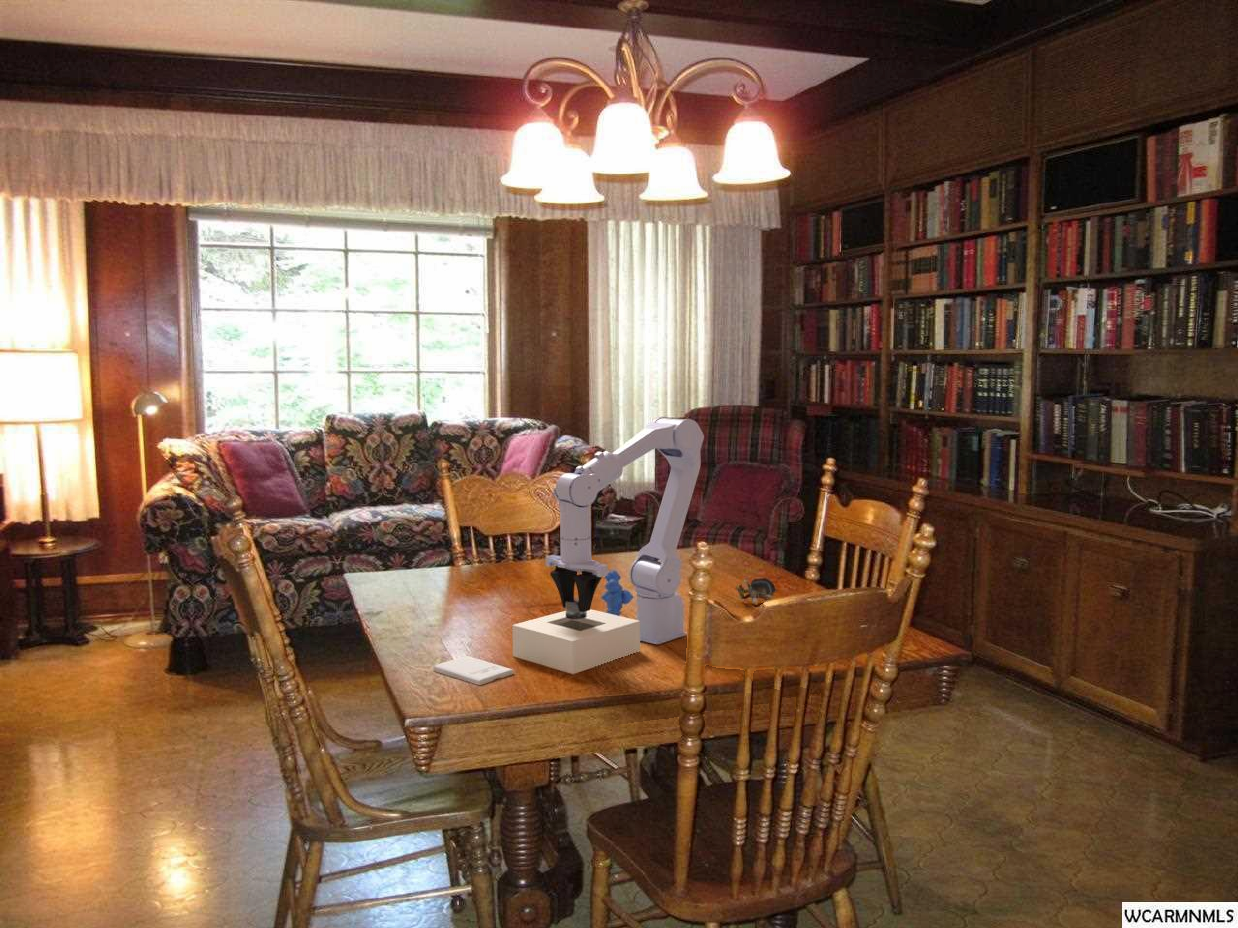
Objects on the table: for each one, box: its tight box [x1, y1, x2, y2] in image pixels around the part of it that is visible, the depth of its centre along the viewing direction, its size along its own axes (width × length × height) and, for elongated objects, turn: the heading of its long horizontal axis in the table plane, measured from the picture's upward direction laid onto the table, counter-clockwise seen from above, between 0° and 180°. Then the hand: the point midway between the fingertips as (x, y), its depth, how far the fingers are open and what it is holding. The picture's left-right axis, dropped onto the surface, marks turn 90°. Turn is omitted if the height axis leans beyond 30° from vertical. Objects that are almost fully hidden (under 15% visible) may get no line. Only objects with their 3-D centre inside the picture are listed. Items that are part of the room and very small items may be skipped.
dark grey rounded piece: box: [564, 597, 587, 619], centre depth 187 cm, size 4×4×3 cm
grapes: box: [601, 569, 634, 616], centre depth 207 cm, size 12×7×12 cm, turn 0°
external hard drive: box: [433, 655, 515, 686], centre depth 177 cm, size 2×8×12 cm
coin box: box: [511, 608, 641, 675], centre depth 187 cm, size 18×16×6 cm
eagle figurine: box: [735, 577, 777, 604], centre depth 224 cm, size 8×7×9 cm
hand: (576, 608), depth 187 cm, fingers closed on dark grey rounded piece, 4 cm apart
